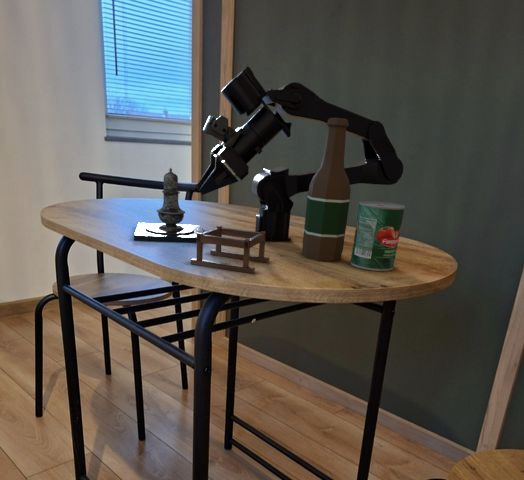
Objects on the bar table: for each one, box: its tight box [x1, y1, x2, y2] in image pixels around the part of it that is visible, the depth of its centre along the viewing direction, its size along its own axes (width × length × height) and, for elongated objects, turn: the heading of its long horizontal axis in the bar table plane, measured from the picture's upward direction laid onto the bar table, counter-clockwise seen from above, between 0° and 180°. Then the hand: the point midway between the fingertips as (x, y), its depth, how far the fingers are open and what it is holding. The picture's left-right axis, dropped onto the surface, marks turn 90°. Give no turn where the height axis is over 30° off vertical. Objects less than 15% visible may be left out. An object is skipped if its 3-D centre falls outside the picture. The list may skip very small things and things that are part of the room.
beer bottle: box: [301, 118, 351, 262], centre depth 86 cm, size 8×8×24 cm
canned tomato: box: [349, 200, 406, 272], centre depth 85 cm, size 8×8×11 cm
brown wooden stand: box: [190, 225, 270, 274], centre depth 80 cm, size 9×11×5 cm
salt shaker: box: [156, 167, 186, 231], centre depth 97 cm, size 6×6×12 cm
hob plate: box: [133, 222, 204, 244], centre depth 100 cm, size 14×14×1 cm
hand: (199, 190), depth 97 cm, fingers open, 9 cm apart
